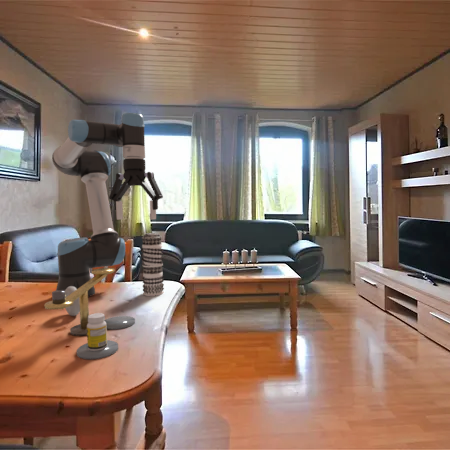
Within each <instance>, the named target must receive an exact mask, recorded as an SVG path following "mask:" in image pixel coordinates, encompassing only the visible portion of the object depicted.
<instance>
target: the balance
mask: <svg viewBox="0 0 450 450" xmlns="http://www.w3.org/2000/svg"><path fill="white" fill-rule="evenodd" d="M115 271H116V269H115V268H112V267H99V268H93V269H92V270H91V274H92V275H94V276H93V277H92V278H91V280H89V281H88V282H86V283H85V284H84V285H82V286H81V287H80V288H78V289H77V290H75V291H74V292H73V293H71V294H70V295H69V296H67V297H66V298H65V290H57V291H56V290H53V291H51V297H52V298H51V299H52V300H49V301H47V302H45V303H44V309H45V310H64V309H66V308H67V307H70V306H72V305H73V301H75V300H76V299H77V298H79V304H80V312H79V320H80V321H79V323H80V324H79V323H78V324H76V325H74V326H71V328H70V329H69V330H70V331H69V332H70V335H71V336H75V337H84V336H87V324H88V323H89V322H88V316H89V315H90V313H89V312H90V311H89V297H88V290H89V289H90V288H92V287H93V286H94V287H95V285H97V284H99V283H100V281H102V280H104V279H105V278H106V277H108V275H110V274H114V273H115Z"/></svg>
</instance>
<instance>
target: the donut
mask: <svg viewBox="0 0 450 450" xmlns="http://www.w3.org/2000/svg"><path fill="white" fill-rule="evenodd" d="M75 290H77V289H76V288H75V287H73V286H70V287H68V288H67V289H66V290H65V298H66V297H67V296H69V295H70V294H71V293H73V292H74V291H75ZM65 310H66V312H67V313H68V315H69V316H71V317H74V316H77V315H79V314H80V304H79V298H77V299H76V300H75V301H73V305H72V306H70V307H67V308H65Z"/></svg>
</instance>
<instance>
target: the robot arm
mask: <svg viewBox="0 0 450 450" xmlns="http://www.w3.org/2000/svg"><path fill="white" fill-rule="evenodd" d="M144 120H145V119H144V116H143V115H142V114H141V113H138V112H125V113H123V114H122V115H121V121H120V122H121V123H120V124H119V123H118V124H116V123H107V122H99V121H92V120H84V119H71V120H70V121H69V123H68V126H67V128H68V129H67V133H68V134H67V136H68V137H67V138H66V140H65V141H64V142H63V144H62V145H60V146H58V147H57V148H55V150H54V151H53V153H52V159H51V160H52V163H53V165H54V167H55V168H56V169H57V170H58V171H60V172H61V173H62V174H65V175H67V176H71V177H73V176H74V177H77V176H78V177H80V180H81V182H82V183H84V184H85V189H86V195H87V201H88V206H89V207H88V208H89V214H90V221H91V227H92V234H91V236H90V240H89V238H88V237H87V236H86V237H83V236H82V237H77V238H70V239H65V240H63V241H60V242H59V243H58V245H57V262H58V281H57V285H56V288H55V291H57V290H66V289H67V288H68V287H70V286H73V287H75V288H76V289H78V288H80V287H81V286H82V285H84V284H85V283H86V282H88V281H89V280H91V279H92V278H91V275H90V269H97V268H105V267H112V266H117V265H120V264H122V262H123V261H124V259H125V255H126V242H125V239H124V238H122V237H119V233H118V232H117V231H116V230H115V228H114V225H113V224H114V223H113V219H112V213H111V207H110V202H109V200H111V201H113V203H114V204H113V205H114V210H115V212H116V220H118V221H119V220H120V221H121V220H123V219H124V215H123V214H124V213H123V212H124V211H123V210H124V209H123V201H122V198H123V197H124V195H126V193H127V191H128V189H129V188H131V186H132V187H135V186H137V187H138V186H140V187H141V188H142V190H144V191H145V192H146V194H147V195H148V197H149V198H150V200H149V220H150V221H151V220H157V210H158V208H159V206H158V205H159V200H161V199H163V198H164V196H163V193H162V192H161V189H160V188H159V186H158V183H157V181H156V179H155V174H154V172H152V171H148V172H146V160H145V158H146V148H145V121H144ZM93 144H96V145H97V144H98V145H108V146H113V147H115V148H122V158H123V160H122V166H123V171H124V172H123V173H118V172H117V173H116V174H115V181H114V183H113V186H112V189H111V191H110V194H109V195H108V190H107V189H108V188H107V184H106V181H107V180H108V178H109V177H110V175H111V174H112V165H111V160H110V157H109V155H108V154H107V153H105V152H104V151H100V150H99V151H98V150H88V148H89V147H91V145H93ZM145 179H147V181H148V182H149V183H147V181H146V180H145ZM123 180H124V181H123ZM149 185H150V186H151V187H150V186H149ZM95 293H96V288H95V285H94V286H93V287H92V288H90V289H89V290H88V298H89V297H90V298H91V296H94V295H95Z"/></svg>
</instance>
